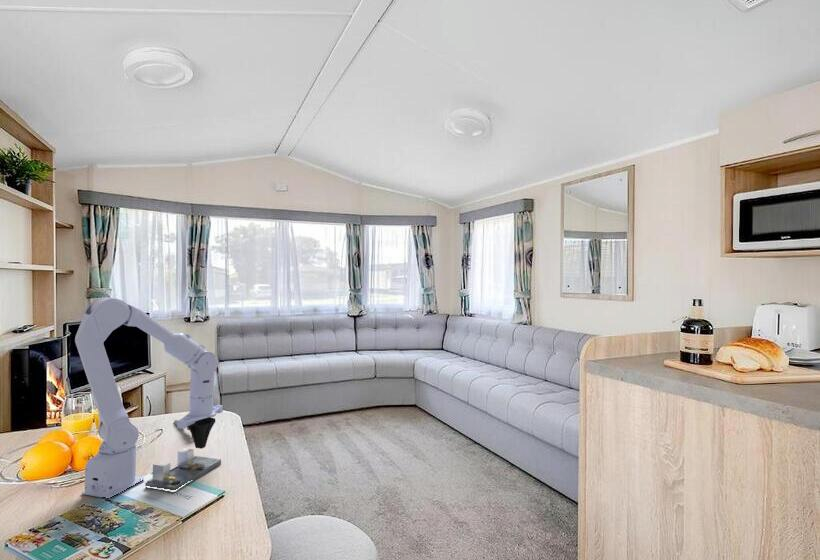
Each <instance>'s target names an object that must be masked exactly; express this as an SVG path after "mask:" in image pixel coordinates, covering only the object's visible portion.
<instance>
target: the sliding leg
mask: <svg viewBox="0 0 820 560" xmlns="http://www.w3.org/2000/svg"><path fill="white" fill-rule="evenodd" d="M194 452H195V449H192V448H186V447H184V448H182V449H179V450H178V451H177V464H178V466H177V467H180V468H187V469H188V468H190V467H199V466H200V464H196V463H193V461H194V456H195V455H194V454H195V453H194Z"/></svg>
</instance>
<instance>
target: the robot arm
mask: <svg viewBox="0 0 820 560" xmlns="http://www.w3.org/2000/svg"><path fill="white" fill-rule="evenodd" d="M122 325H124V326H127V327H136V328H138V329H139V330H141V331H142V332H144V333H146V334H148V335H149V336H151V337H153V338H154V339H156V340H158V341H159V342H161V343H162V344H163V346H164V352H166V353H167V354H169V355H171V356H172V357H174V358H175V359H177V360H178V361H180V362H181V363H183V364H184V365H186V366H187V367H188V368H189V369H190V382H189V413H187V414H186V415H184V416H183V417H182V418H180V419H177V420H178V421H177V425H176V427H177V429H181V430H184V429H187V427H188V428H189V430H188V431H189V432H190V435H191V434H192V435H191V437H192V436H193V438H192V439H193V443H194V446H195V449H204V448H206V445H207V443H208V438H209V436H210V433H211V431H212V429H213V426H214V425H215V424H216V418H215V417H216V416H217V414H222V413H223V407H224V405H222V404H216V405H214V400H215V399H214V396H215V395H214V394H215V371H216V370H217V368H218V366H219V364H220V363H219V362H220V361H218V358H217V356H216V354H215V353H213V352H211V351H208V350H206V346H205V345H204V344H199V343H197V342H196V341H194V340H193V339H191V337H192V336H191V335H190V334H189V333H187V332H186V333H183V332H175V333H173V332H172V331H170V330H169V329H167V328H166V327H165V326H164V325H162V324H161V323H159V322H158V321H157V320H155V319H154V318H153V317H151V316H150V315H148V314H147V313H146V312H145V311H143V310H141V309H140V308H137V307H136V306H134V305H131V304H128V303H127V302H126V301H125V300H122V299H119V298H114V297H112V296H111V297H110V296H101V297H99V298H96V299H94V300H93V301H92V302H91V303H90V305H88V306H87V307H86V309H85V310H84V312H83V317H82V320H81V322H80V323H79V327H78V330H77V332H76V334H75V338H74V343H75V346H76V348H77V352H78V354H79V358H80V361H81V363H82V367H83V370H84V372H85V376H86V379H87V382H88V385H89V388H90V391H91V393H92V398H93V401H94V403H95V406H96V410H97V414H98V415H97V416H98V417H97V418H98V419H99V420H98V421H99V426H98V430H97V432H98V436H99V437H100V438H101V439H102V440H103V441H102V442H101V444H100V446H99V447H98V451H97V453H96V454H95V455H94V456H93V457H91V458H90V459H88V460H87V461H86V464H85V467H84V490H82V491H81V494H82V495H87V496H91V497H97V498H102V497H107V498H109V497H112V496H114V495H116V494H118V493H119V494H121V493H123V492H125V491H127V490H128V489H127V488H129V487H131V486H133V485H134V484H136V483H138V482H139V481H141V479H142V480H143V479H144V478H145V477H141V476H137V475H136V469H137V468H136V467H137V466H136V465H137V462H136V461H137V442H138V439H139V436H140V434H139V428H137V427H136V426H135V425H134V424H133V423H132V422H131V419H130V418H129V415H128V413H127V411H126V409H125V407H124V405H123V402H122V398H121V395H120V391H119V388H118V385H117V383H116V379H115V376H114V373H113V369H112V367H111V364H110V360H109V357H108V354H107V351H106V347H105V345H104V342H105V341H106V340H107V338H108V337H109V336H110V335H111V333H112V332H113V331H114V330H116V329H118V328H120V327H121V326H122ZM138 484H139V483H138ZM136 485H137V484H136ZM134 486H135V485H134ZM134 486H133V487H134ZM131 488H132V487H131ZM126 489H127V490H126ZM129 489H130V488H129ZM124 490H125V491H124ZM122 491H123V492H122ZM120 492H121V493H120ZM119 494H118V495H119ZM116 496H117V495H116ZM114 497H115V496H114ZM107 498H106V499H107ZM112 498H113V497H112ZM109 499H110V498H109Z"/></svg>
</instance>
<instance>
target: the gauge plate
mask: <svg viewBox="0 0 820 560" xmlns="http://www.w3.org/2000/svg"><path fill="white" fill-rule="evenodd" d="M193 463H196V464H200V466H199V467H190V468H188V469H187V468H180V467H177V466H178V463H177V464H176V465H174V466H172V467H171V462H169V461H162V460H159V461H157V462H155V463H153V464H152V478H150V479H147V481H146V482H145V483H144V484H145V485H144V487H145V486H150V487H157V488H164V489H170V490H176V489H178V488H179V487H181V486H182V485H184V484H185V483H187V482H188V481H191V480H193V482H194V481H196V480H197V479H199V478H201V477H202V476H204V475H206V474H207V473H209V472H211V471H213V470H214V469H215V468H217V467H219V466H220V465H221V464H222V459H221V458H220V459H219V458H212V457H207V456H206V457H205V456H199V455H194V461H193Z"/></svg>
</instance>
